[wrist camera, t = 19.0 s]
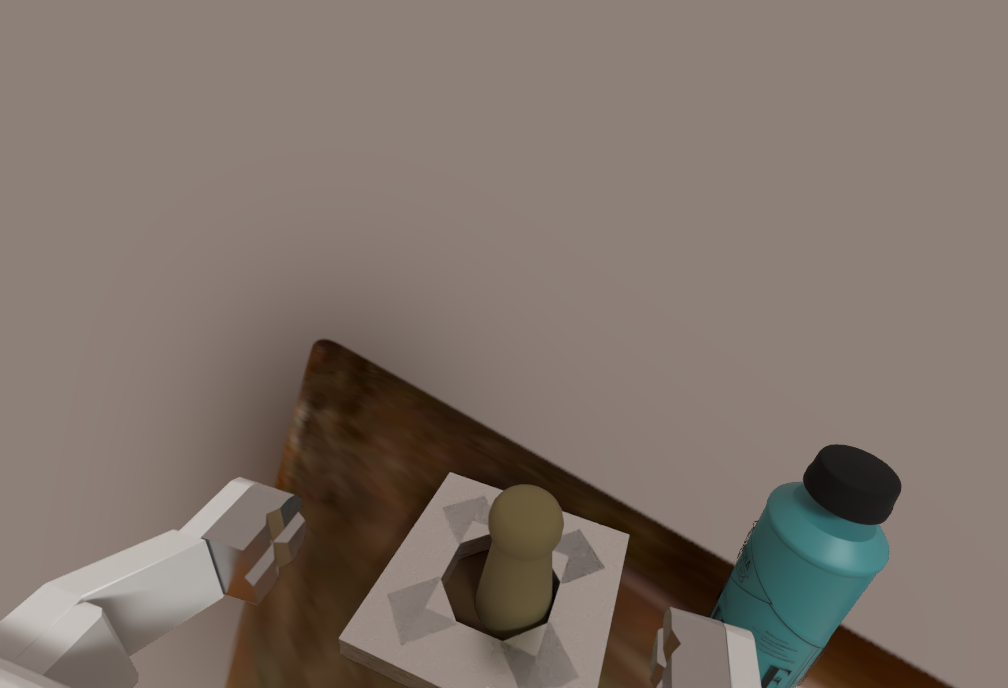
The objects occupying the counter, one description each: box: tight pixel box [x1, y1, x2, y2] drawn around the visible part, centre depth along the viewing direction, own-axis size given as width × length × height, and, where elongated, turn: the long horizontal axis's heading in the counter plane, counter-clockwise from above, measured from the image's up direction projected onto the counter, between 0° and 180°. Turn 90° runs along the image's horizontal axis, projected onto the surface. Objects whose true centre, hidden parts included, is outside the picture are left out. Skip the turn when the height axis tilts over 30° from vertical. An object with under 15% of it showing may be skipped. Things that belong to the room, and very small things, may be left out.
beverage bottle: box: [708, 444, 901, 688], centre depth 32 cm, size 6×7×20 cm
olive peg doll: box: [475, 484, 564, 639], centre depth 37 cm, size 6×6×11 cm
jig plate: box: [338, 472, 629, 688], centre depth 40 cm, size 17×17×2 cm
